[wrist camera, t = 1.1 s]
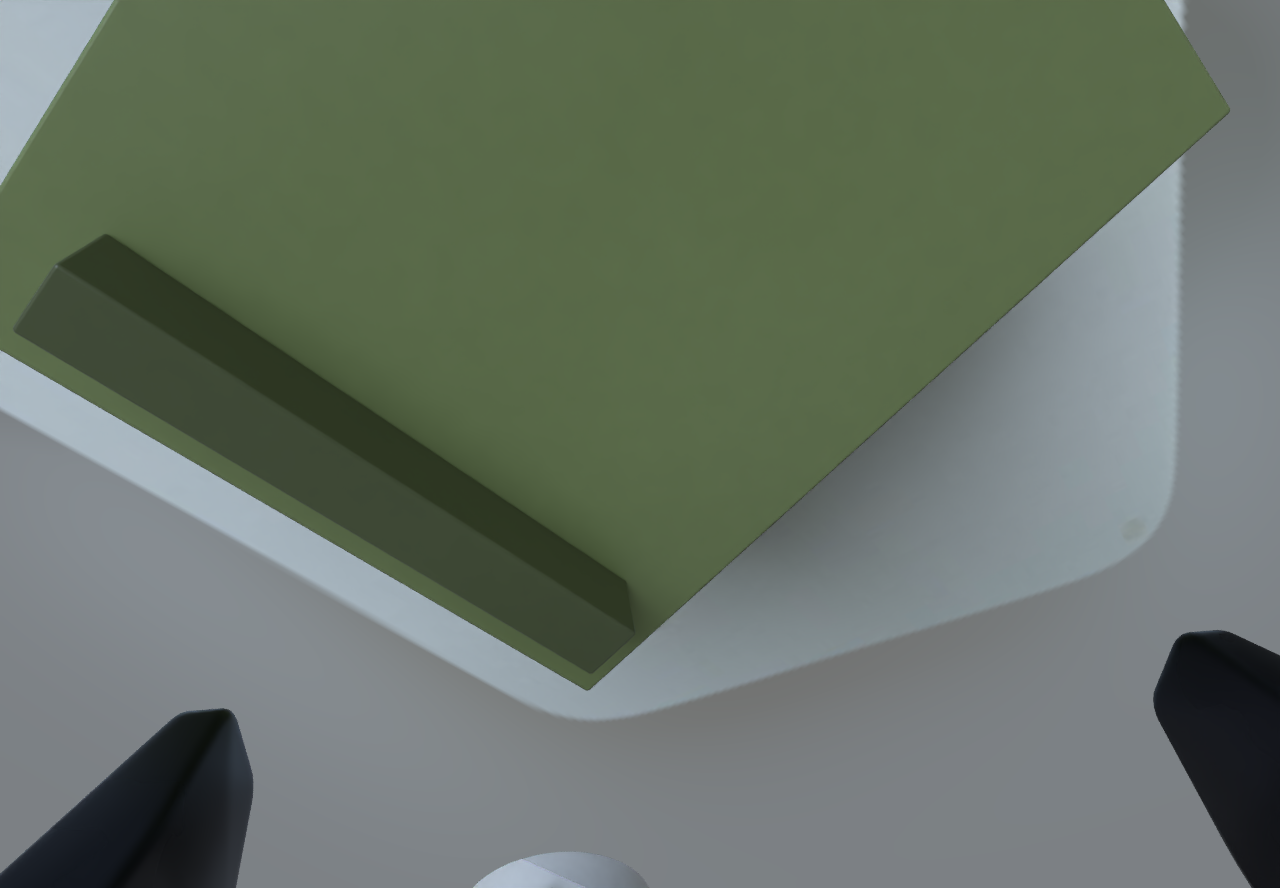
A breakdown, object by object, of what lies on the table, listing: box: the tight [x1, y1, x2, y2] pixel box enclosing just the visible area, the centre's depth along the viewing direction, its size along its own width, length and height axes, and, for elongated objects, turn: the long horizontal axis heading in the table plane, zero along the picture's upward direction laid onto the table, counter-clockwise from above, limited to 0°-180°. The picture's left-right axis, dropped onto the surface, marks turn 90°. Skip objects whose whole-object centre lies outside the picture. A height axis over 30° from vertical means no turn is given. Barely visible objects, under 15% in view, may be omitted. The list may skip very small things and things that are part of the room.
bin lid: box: [0, 0, 1230, 690], centre depth 12 cm, size 15×13×2 cm
